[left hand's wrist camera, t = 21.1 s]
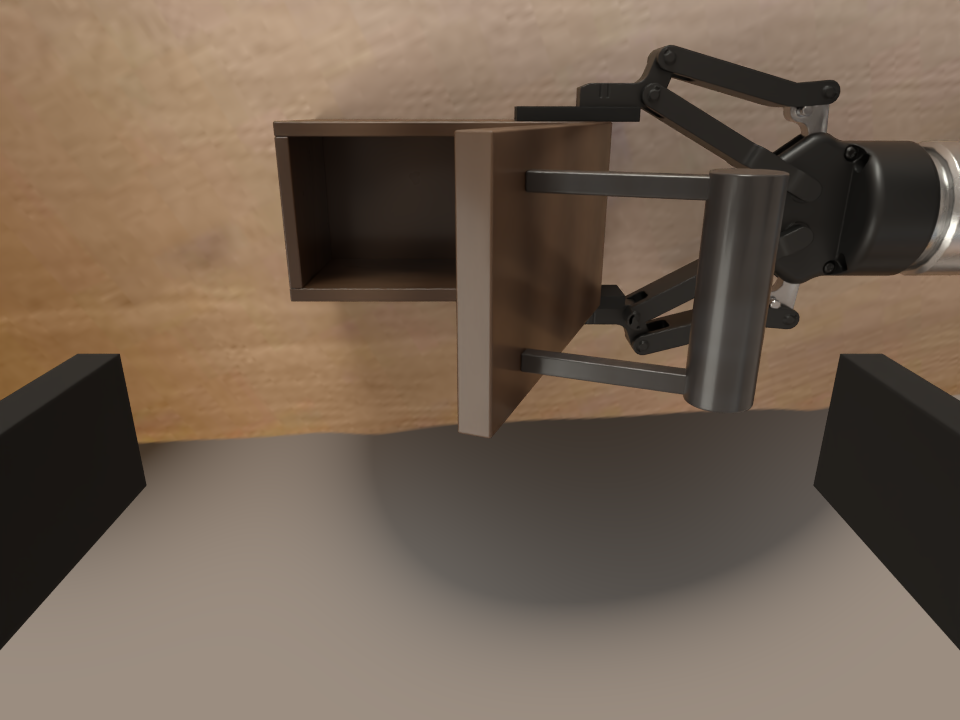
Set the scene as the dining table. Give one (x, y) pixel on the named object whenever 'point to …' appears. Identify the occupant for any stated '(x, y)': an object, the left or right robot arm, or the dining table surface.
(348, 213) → the chest
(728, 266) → the lid
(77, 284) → the dining table surface
